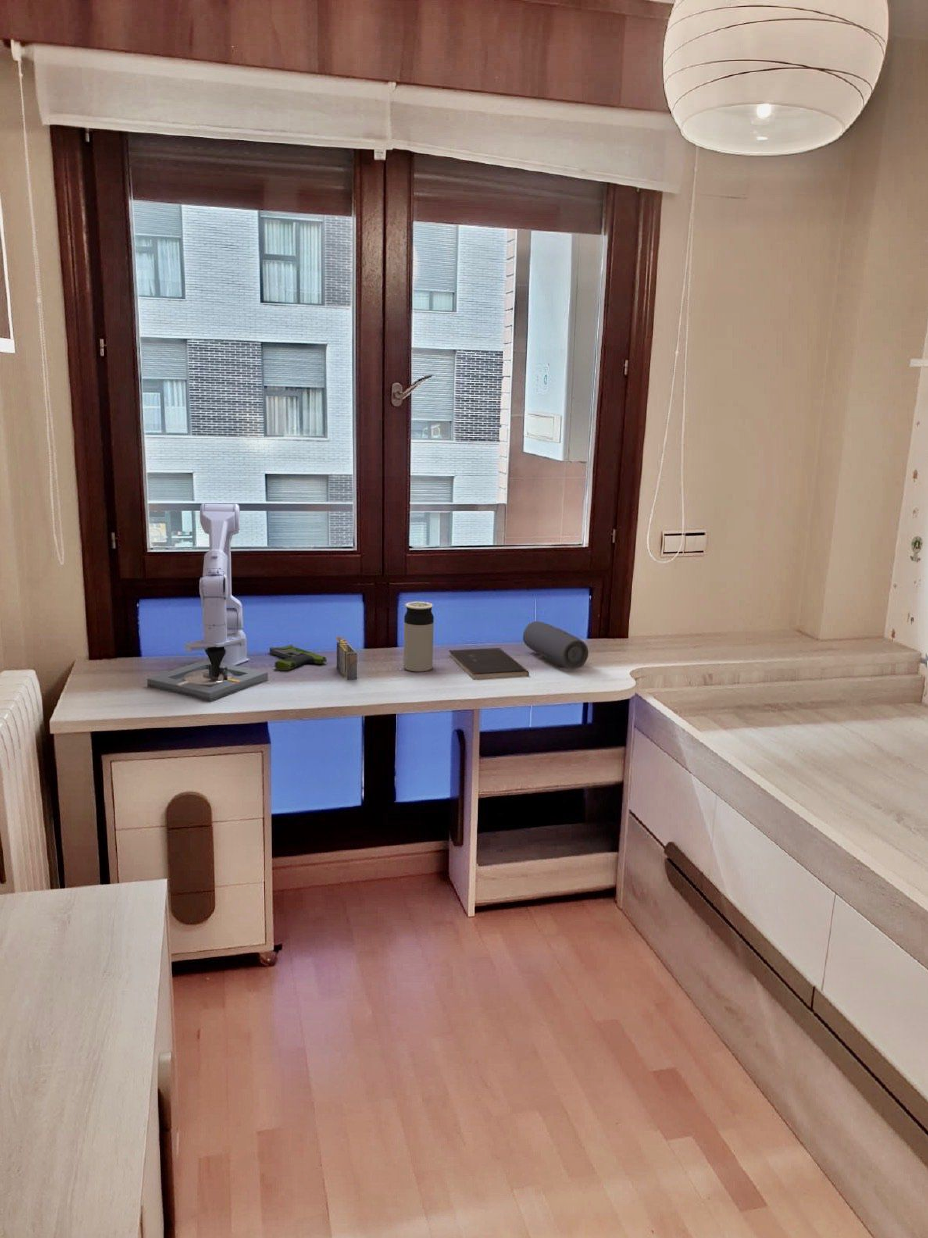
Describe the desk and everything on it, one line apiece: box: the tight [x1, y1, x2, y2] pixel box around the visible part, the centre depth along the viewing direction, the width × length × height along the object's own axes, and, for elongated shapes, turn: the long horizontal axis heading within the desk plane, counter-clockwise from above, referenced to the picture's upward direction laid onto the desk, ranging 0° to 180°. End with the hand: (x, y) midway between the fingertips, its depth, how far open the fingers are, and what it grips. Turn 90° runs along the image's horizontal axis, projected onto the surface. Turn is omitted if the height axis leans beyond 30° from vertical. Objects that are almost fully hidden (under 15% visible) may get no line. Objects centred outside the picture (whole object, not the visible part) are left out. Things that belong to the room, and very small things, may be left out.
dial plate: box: [146, 658, 269, 703], centre depth 242 cm, size 21×21×2 cm
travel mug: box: [403, 601, 435, 673], centre depth 259 cm, size 8×8×18 cm
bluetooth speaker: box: [522, 620, 589, 670], centre depth 270 cm, size 23×9×10 cm, turn 25°
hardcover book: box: [448, 647, 530, 680], centre depth 265 cm, size 16×23×2 cm
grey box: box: [334, 634, 358, 681], centre depth 253 cm, size 11×3×10 cm, turn 21°
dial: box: [184, 664, 233, 687], centre depth 241 cm, size 12×12×4 cm
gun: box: [269, 644, 327, 671], centre depth 264 cm, size 2×19×15 cm
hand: (216, 676), depth 238 cm, fingers closed, pressing on dial
